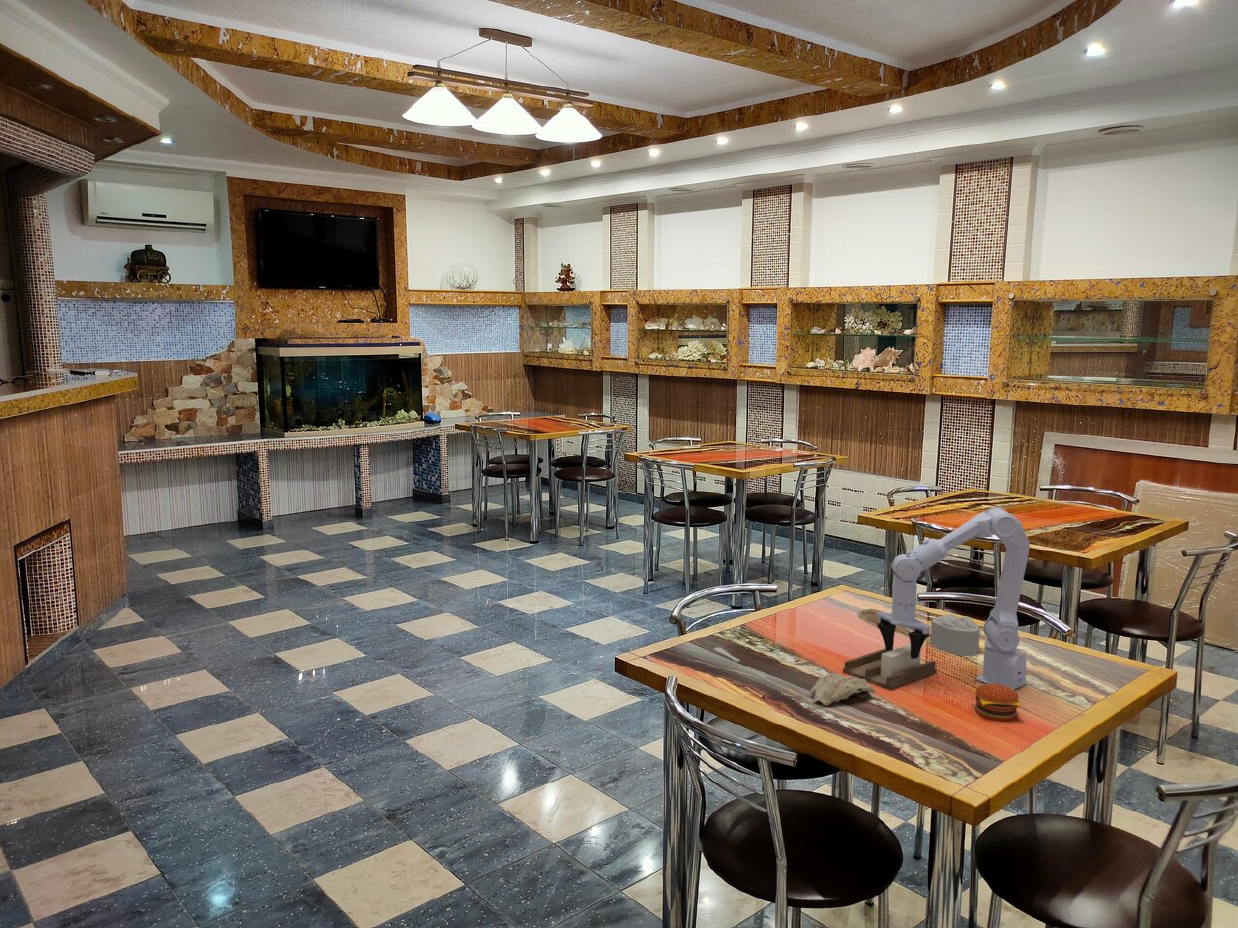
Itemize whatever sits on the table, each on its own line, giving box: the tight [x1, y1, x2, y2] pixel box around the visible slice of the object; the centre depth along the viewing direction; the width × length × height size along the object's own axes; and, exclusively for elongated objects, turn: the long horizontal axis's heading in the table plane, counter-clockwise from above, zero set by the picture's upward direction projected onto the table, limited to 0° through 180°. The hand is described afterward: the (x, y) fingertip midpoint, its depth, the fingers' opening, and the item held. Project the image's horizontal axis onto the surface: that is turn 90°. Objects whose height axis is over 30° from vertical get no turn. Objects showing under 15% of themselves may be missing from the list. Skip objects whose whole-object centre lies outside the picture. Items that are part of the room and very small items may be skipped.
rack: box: [842, 647, 938, 691], centre depth 231 cm, size 15×19×3 cm
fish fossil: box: [857, 608, 911, 639], centre depth 270 cm, size 26×10×1 cm, turn 18°
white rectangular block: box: [881, 643, 921, 679], centre depth 228 cm, size 3×12×6 cm, turn 126°
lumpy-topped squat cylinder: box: [929, 613, 981, 657], centre depth 249 cm, size 10×13×9 cm
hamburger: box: [972, 683, 1023, 722], centre depth 206 cm, size 9×10×7 cm
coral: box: [809, 672, 876, 706], centre depth 216 cm, size 15×12×5 cm
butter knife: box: [713, 647, 767, 678], centre depth 239 cm, size 1×24×3 cm
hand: (901, 653), depth 228 cm, fingers open, 7 cm apart
